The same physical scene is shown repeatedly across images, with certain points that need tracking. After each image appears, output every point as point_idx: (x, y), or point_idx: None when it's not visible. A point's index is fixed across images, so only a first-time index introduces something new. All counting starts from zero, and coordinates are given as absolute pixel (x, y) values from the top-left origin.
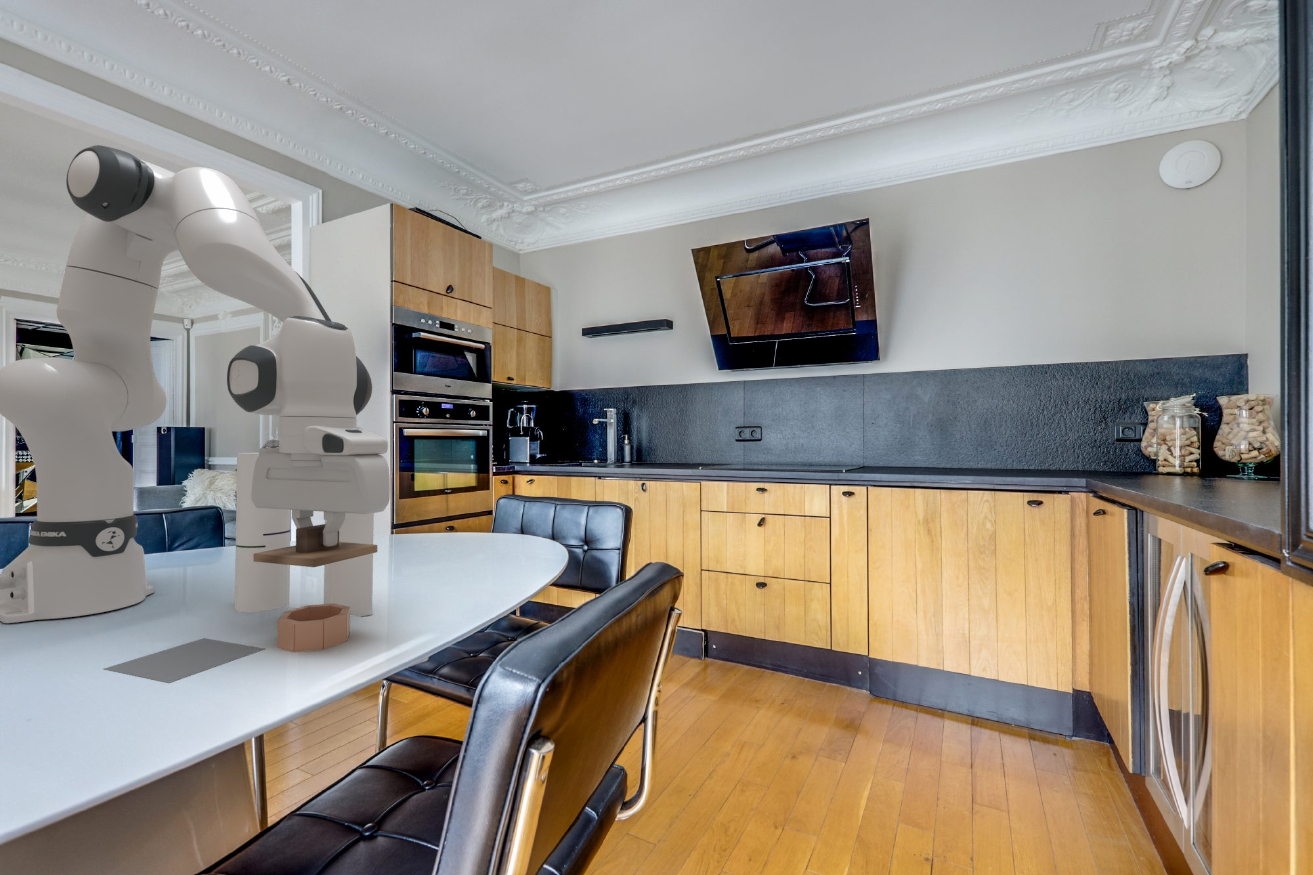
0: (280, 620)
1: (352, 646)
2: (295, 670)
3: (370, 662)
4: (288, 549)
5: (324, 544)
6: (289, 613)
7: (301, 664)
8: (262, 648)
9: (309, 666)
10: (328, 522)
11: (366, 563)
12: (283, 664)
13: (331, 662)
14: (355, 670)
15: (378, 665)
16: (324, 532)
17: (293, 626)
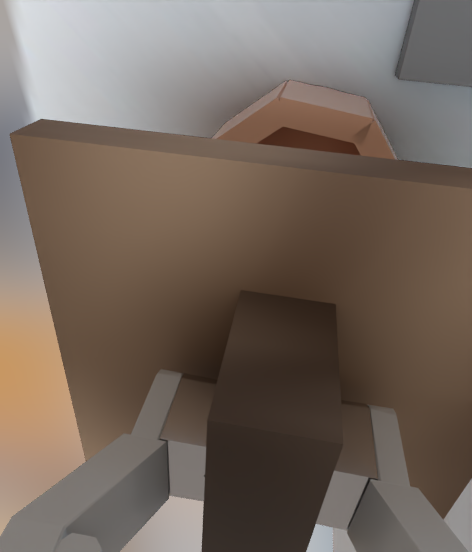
0: (357, 114)
1: None
2: (220, 3)
3: (85, 117)
4: (450, 360)
5: (172, 373)
6: None
7: (241, 51)
8: (411, 78)
9: (207, 45)
10: (59, 507)
11: None
12: (292, 35)
13: (175, 89)
14: (72, 56)
15: (51, 104)
16: (147, 441)
17: (284, 96)
